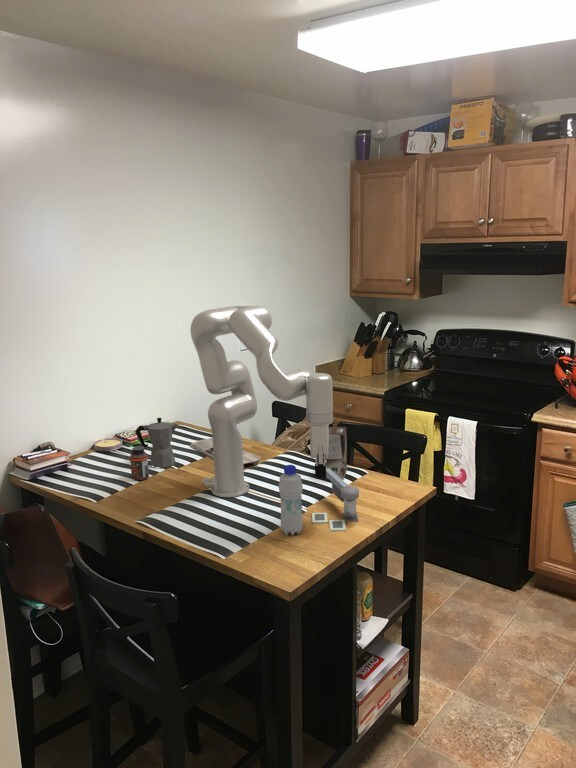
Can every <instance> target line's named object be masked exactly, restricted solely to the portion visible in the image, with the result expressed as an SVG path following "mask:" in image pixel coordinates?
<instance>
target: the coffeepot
mask: <svg viewBox="0 0 576 768" xmlns="http://www.w3.org/2000/svg"><path fill="white" fill-rule="evenodd" d="M156 421H157V422H153V423H149V424H144V425H138V427H137V428H136V429H135V435H136V437H137V438H138V441H139V443H140V446H143V447H144V448H148V447H149V444H147V443H145V440H144V438H143V436H142V431H145V432H147V433H148V438H149V441H150V444H151V447H152V448H151V452H150V460H149V461H150V463H149V465H150V464H151V465H153V466H154V467H160V468H159V469H165V468H164V467H167V468H170V467H173V466H174V465H175V464H176V459H175V455H174V454H175V453H174V451H173V447H172V445H171V442H172V440H173V434H174V433H175V431H176V429H177V427H179V425H178V424H177V423H174V422H173V423H171V422H169V421H162V417H157V418H156ZM174 463H175V464H174ZM151 465H150V466H151ZM172 465H173V466H172ZM169 466H170V467H169ZM154 467H153V468H154Z"/></svg>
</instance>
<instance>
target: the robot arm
mask: <svg viewBox="0 0 576 768" xmlns="http://www.w3.org/2000/svg"><path fill="white" fill-rule="evenodd" d="M272 324H273V318H272V315H271V313H270V312H269V310H268V309H267V308H265V307H264V306H261V305H234V306H233V305H232V306H225V307H219V308H217V307H216V308H211V309H206V310H204V311H201V312H200V313H198V314H196V315H195V316H194V317H193V319H192V321H191V324H190V328H189V329H190V337H191V341H192V343H193V345H194V347H195V348H194V349H195V351H196V353H197V356H198V360H199V361H198V362H199V364H200V367H201V372H202V376H203V379H204V384H205V388H206V390H207V391H208V392H209V393H210V394H212V395H221V394H225V393H228V392H231V395H227V396H224V397H222V398H221V397H220V398H218V399H216V400H214V401H213V402H212V403H211V404H210V405H209V407H208V410H207V416H208V417H207V418H208V421H209V426H210V429H211V435H212V437H211V438H213V451H214V459H213V462H214V463H213V465H214V476H212V477H210V478H209V477H202V480H201V483H202V484H204V486H205V487H210V486H211V487H210V492H211V493H212V495H214V496H216V497H220V498H235V497H240V496H243V495H245V494H247V493H248V492H249V491H250V485H249V482H247V481H245V472H244V471H245V469H244V468H245V467H244V464H243V451H244V450H243V449H244V448H243V438H242V437H243V436H242V434H241V432H240V431H239V429H238V427H237V425H238V424H241V423H242V422H243V423H244V422H247V421H248V420H251V419H252V418H254V417H255V415H256V414H257V412H258V401H257V397H256V394H255V389H254V385H253V381H252V377H251V373H250V370H249V369H248V367H247V366H246V364H245V363H244V362H242V361H240V360H237V359H235V360H234V359H232V360H229V361H228V358H227V356H226V352H225V348H224V347H223V345H222V344H221V342H220V341H219V340H218V339H217V337H219V336H225V335H229V334H234V335H235V337H236V338H238V340H239V341H240V342H241V344H243V345H244V346H245V348H246V349H247V350H248V351H249V352H250V354H251V355H252V356H253V357H254V358H255V363H256V370H257V375H258V377H259V380H260V381H261V383H262V384H263V385H264V387H266V388H267V390H268V391H269V392H270V393H271V394H272V396H274V397H275V398H277V399H278V400H280V401H285V402H287V401H291V400H294V399H297V398H299V397H303V396H305V408H306V412H305V413H306V416H305V418H306V424H308V425H309V448H310V449H309V450H310V458H311V459H312V460H313V459H315V463H314V478H315V479H327V478H326V458H327V457H328V447H329V427H330V426H329V425H331V424H333V422H334V416H333V415H334V406H333V405H334V399H333V398H334V397H333V396H334V395H333V394H334V393H333V389H334V388H333V385H334V384H333V378H332V376H331V375H330V374H328V373H324V372H315V371H313V370H310V369H307V368H299V369H296V370H293V371H289V372H285V373H283V371H281V370H280V368H279V367H278V366H277V365H276V363H275V362H274V359H273V355H274V354H275V352H276V350H277V349H278V346H279V340H278V339H277V337H276V336H275V335H274V334H273V333H272V332H271V330H270V329H271V326H272ZM243 467H244V468H243Z"/></svg>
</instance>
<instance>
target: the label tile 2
mask: <svg viewBox="0 0 576 768" xmlns="http://www.w3.org/2000/svg"><path fill="white" fill-rule="evenodd" d="M328 523H329V532H346V531H347V526H346V521H345V520H343V519H329V520H328Z"/></svg>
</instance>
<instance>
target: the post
mask: <svg viewBox="0 0 576 768" xmlns="http://www.w3.org/2000/svg"><path fill="white" fill-rule="evenodd" d="M341 516H342V520H345V522H359V517H358V513H357V499H354V500H347V499H344V502H343V512H342V513H341Z"/></svg>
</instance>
